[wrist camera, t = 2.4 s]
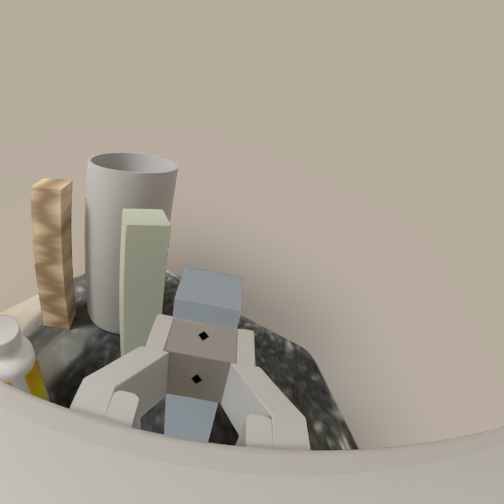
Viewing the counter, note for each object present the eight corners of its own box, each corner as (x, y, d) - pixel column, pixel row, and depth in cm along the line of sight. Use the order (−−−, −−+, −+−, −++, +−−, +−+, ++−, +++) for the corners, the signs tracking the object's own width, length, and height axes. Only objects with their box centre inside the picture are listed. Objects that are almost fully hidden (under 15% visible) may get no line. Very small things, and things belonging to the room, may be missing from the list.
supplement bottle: (41, 381, 33) (21, 302, 28) (59, 418, 29) (35, 342, 24) (-1, 394, 28) (-31, 315, 23) (14, 434, 25) (-25, 359, 19)
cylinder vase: (170, 304, 56) (190, 163, 46) (142, 347, 45) (154, 179, 34) (110, 284, 57) (118, 149, 46) (74, 320, 45) (69, 162, 35)
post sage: (125, 380, 38) (126, 225, 29) (120, 356, 42) (122, 208, 33) (158, 377, 41) (171, 225, 31) (150, 354, 44) (162, 209, 35)
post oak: (44, 325, 42) (30, 187, 33) (52, 308, 46) (44, 177, 37) (69, 329, 43) (61, 189, 34) (76, 312, 47) (72, 180, 38)
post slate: (163, 454, 30) (174, 298, 21) (169, 424, 34) (185, 266, 25) (203, 461, 30) (241, 310, 21) (206, 430, 35) (242, 277, 25)
